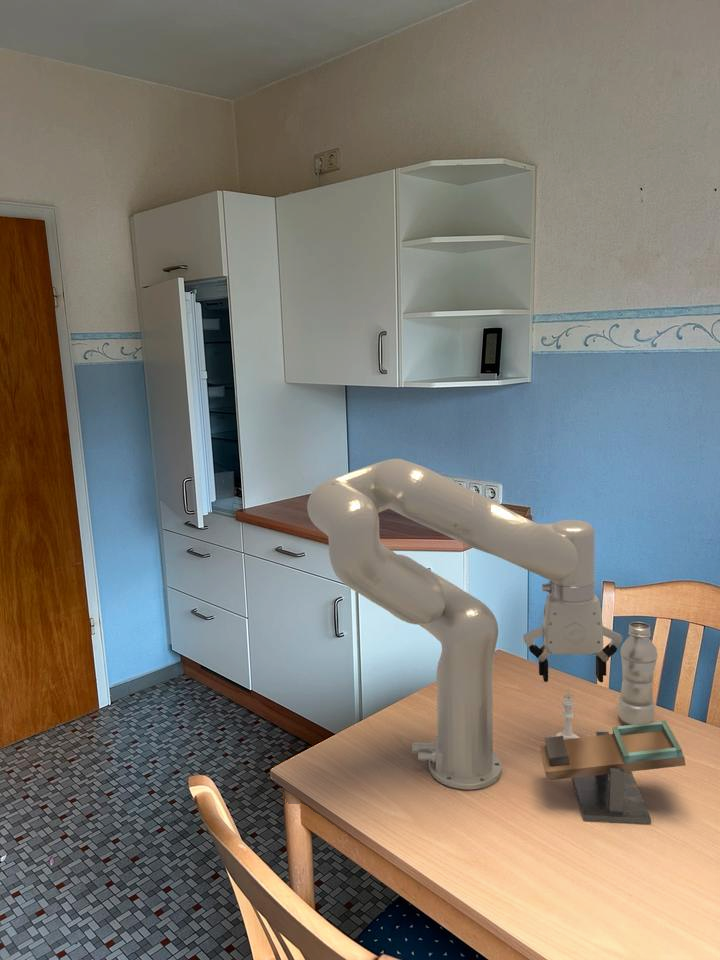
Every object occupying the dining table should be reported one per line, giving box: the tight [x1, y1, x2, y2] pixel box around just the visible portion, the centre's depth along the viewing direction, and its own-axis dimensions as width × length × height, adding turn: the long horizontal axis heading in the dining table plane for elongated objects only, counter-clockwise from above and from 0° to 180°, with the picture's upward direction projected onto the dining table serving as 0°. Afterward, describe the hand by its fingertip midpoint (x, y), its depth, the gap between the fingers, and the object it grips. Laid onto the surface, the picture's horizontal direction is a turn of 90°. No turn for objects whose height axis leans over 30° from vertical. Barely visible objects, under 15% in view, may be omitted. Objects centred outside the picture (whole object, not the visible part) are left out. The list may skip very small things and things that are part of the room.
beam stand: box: [571, 731, 652, 825], centre depth 117 cm, size 10×13×8 cm
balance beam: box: [538, 720, 686, 782], centre depth 116 cm, size 21×9×4 cm, turn 83°
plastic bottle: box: [617, 621, 658, 725], centre depth 138 cm, size 6×7×20 cm
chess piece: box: [554, 691, 581, 739], centre depth 133 cm, size 5×5×10 cm
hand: (572, 678), depth 131 cm, fingers open, 9 cm apart
